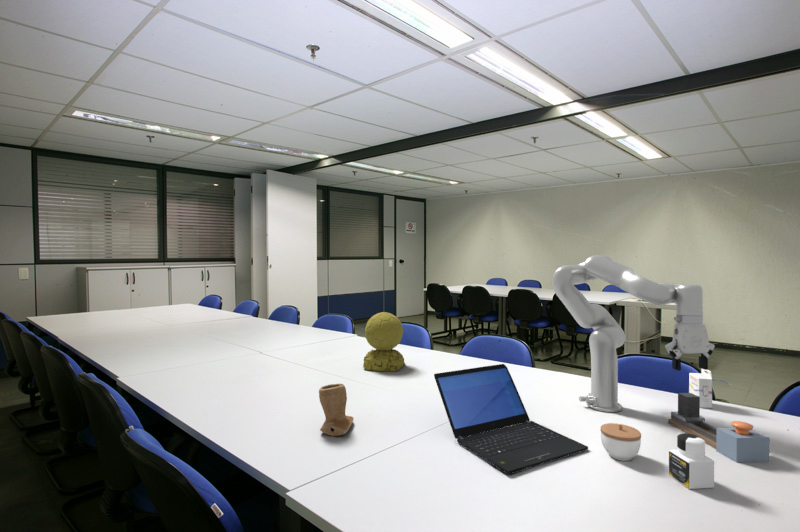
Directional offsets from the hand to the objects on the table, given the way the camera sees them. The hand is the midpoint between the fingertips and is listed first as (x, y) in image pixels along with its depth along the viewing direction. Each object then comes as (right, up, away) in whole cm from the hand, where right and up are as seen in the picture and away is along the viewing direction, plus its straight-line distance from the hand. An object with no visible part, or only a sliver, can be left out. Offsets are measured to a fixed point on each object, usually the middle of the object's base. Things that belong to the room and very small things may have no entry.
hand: (690, 369), depth 143 cm
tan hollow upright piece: (-123, -21, 0) cm, 125 cm away
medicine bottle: (-24, -21, -35) cm, 47 cm away
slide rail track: (0, -21, -6) cm, 21 cm away
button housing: (+1, -21, -21) cm, 29 cm away
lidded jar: (-35, -21, -20) cm, 45 cm away
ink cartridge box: (+20, -20, +23) cm, 37 cm away
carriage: (0, -19, 0) cm, 19 cm away
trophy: (-110, -20, +84) cm, 140 cm away
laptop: (-66, -21, -8) cm, 70 cm away
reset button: (+1, -15, -21) cm, 25 cm away
